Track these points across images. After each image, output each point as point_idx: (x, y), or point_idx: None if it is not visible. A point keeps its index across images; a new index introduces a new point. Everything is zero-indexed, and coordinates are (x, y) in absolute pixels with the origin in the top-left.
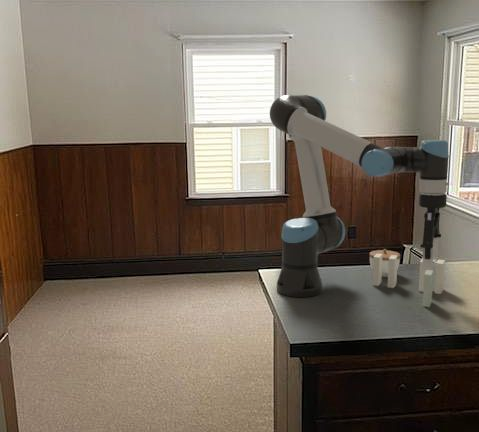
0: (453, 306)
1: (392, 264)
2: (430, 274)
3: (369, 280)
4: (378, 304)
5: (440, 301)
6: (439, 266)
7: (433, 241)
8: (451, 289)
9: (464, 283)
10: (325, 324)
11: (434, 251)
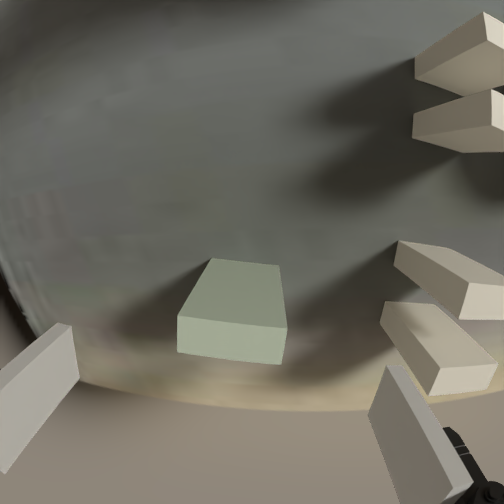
0: None
1: (471, 116)
2: (189, 348)
3: None
4: (179, 89)
5: (291, 321)
6: (427, 372)
7: (420, 489)
8: None
9: None
10: (6, 24)
11: (390, 434)
